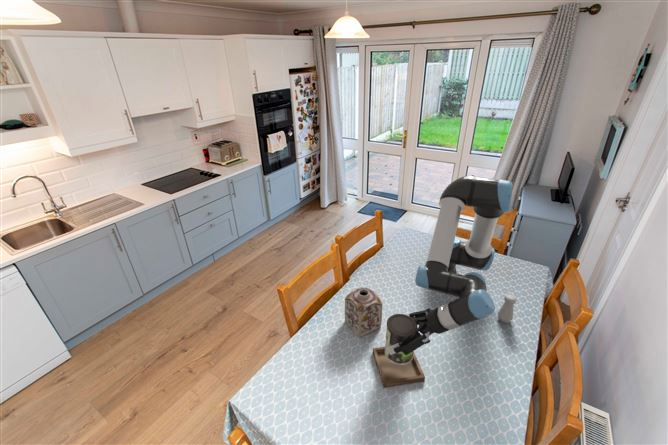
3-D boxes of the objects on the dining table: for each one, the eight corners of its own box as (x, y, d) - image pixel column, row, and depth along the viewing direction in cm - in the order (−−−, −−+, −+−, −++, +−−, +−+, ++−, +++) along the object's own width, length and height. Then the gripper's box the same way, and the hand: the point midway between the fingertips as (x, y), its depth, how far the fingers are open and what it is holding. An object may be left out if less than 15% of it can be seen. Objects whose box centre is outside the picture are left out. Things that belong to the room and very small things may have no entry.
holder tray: (372, 352, 122) (372, 348, 120) (409, 347, 123) (409, 343, 122) (383, 387, 108) (383, 383, 107) (424, 381, 110) (425, 377, 109)
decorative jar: (381, 327, 133) (384, 295, 124) (359, 339, 128) (360, 306, 119) (365, 310, 142) (366, 279, 133) (344, 320, 137) (343, 288, 128)
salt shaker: (513, 325, 132) (520, 302, 126) (498, 324, 133) (505, 300, 127) (509, 315, 137) (516, 293, 131) (495, 314, 138) (501, 291, 132)
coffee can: (419, 357, 110) (424, 328, 104) (396, 369, 106) (399, 340, 100) (401, 337, 118) (404, 309, 112) (378, 348, 114) (380, 319, 108)
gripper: (439, 288, 107) (391, 311, 120) (432, 336, 89) (376, 357, 101) (453, 303, 108) (404, 324, 120) (449, 354, 89) (391, 373, 102)
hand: (391, 339), depth 111 cm, fingers closed on coffee can, 10 cm apart
